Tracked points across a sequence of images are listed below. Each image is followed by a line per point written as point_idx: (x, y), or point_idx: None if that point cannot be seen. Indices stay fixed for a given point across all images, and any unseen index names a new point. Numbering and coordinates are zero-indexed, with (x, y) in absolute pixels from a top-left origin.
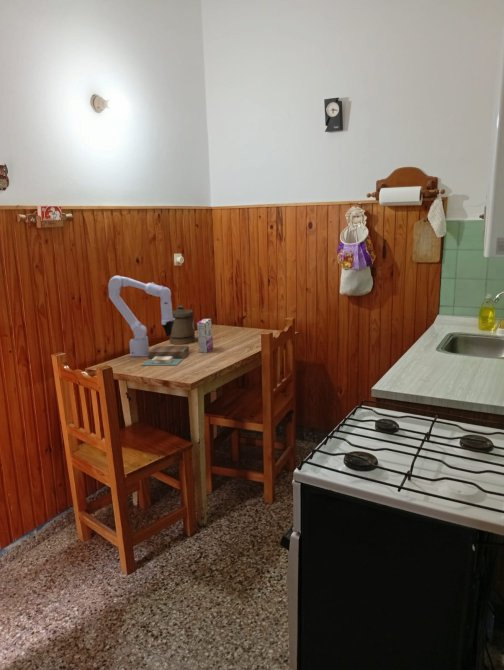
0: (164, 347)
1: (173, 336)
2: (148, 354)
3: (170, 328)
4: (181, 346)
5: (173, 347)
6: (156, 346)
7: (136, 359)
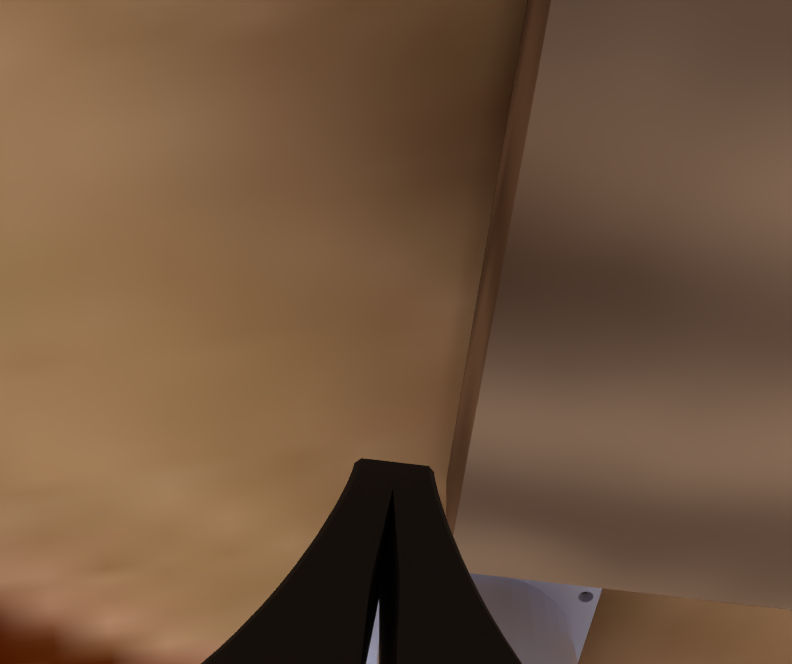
0: (579, 421)
1: None
2: None
3: (505, 638)
4: (592, 49)
5: (640, 240)
6: None
7: (718, 655)
